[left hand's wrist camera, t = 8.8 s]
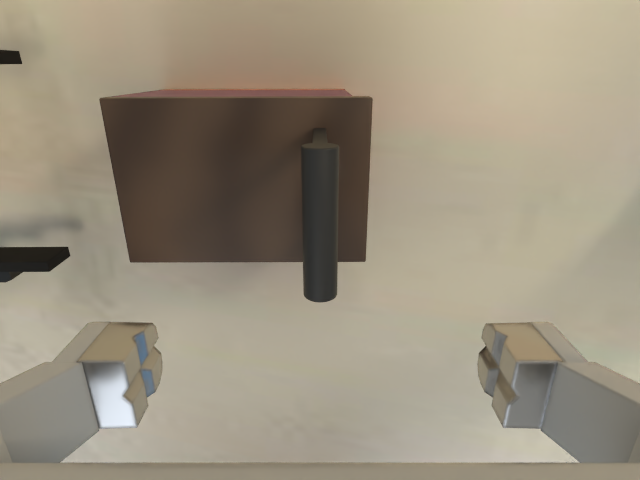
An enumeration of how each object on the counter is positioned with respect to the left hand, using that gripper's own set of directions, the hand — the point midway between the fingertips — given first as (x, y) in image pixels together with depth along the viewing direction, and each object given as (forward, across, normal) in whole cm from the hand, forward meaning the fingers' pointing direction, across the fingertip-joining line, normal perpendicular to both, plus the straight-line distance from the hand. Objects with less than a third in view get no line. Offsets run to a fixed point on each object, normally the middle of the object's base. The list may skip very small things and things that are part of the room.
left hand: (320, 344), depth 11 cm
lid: (+17, -5, 0) cm, 17 cm away
